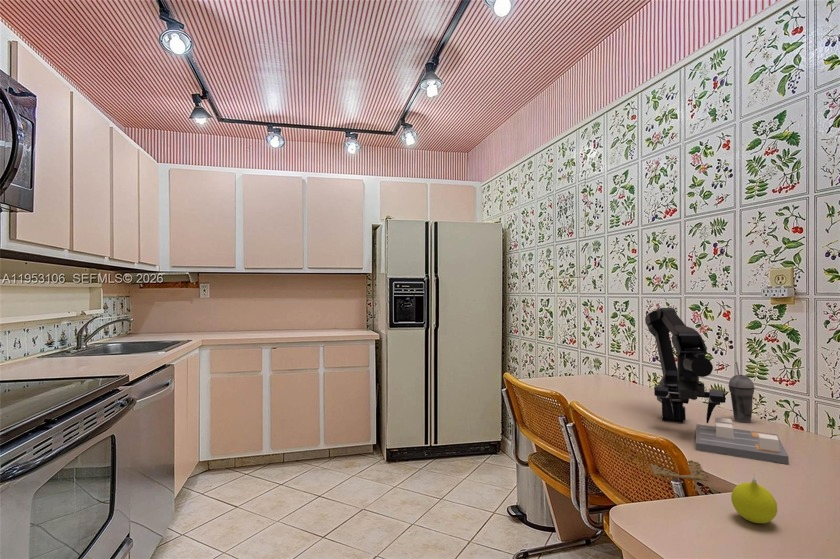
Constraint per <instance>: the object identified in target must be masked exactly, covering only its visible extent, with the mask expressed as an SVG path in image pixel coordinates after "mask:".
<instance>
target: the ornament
mask: <svg viewBox="0 0 840 559" xmlns="http://www.w3.org/2000/svg"><path fill="white" fill-rule="evenodd" d="M753 475H754V476H755V473H754V474H753ZM730 498H731V504H732V506H733V508H734V509H735V511H736V512H737V514H738V515H739V516H741V517H742V518H744V519H745V521H746V520H747V521H749V522H751V523H754V524H768V523H769V522H771V521H773V520H774V519H775V518H776V516H777V514H778V504H777V501H776V498H775V497H774V496H773V494H772V492H770V491H769V490H768V489H767V488H766V487H764V486H762V485H760V484H758V483H757V478H756V477H752V478H751V482H741V483H739V484H737V485H736V486H735V487H734V488H733V490H732V492H731V497H730Z"/></svg>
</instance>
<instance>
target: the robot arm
mask: <svg viewBox="0 0 840 559" xmlns="http://www.w3.org/2000/svg"><path fill="white" fill-rule="evenodd" d="M644 318H645V319H644V321H645V326H647V329H648V331H649V333H650V334H651V335H652V336H653V337H654V338H655V344H656V348H657V349H656V350H657V352H658V358H659V362H660V366H661V371H662V372H661V373H662V376H661V379H660V381H659V384H656V385H655V387H654V388H653V391H654V392H653V393H654V396H656V400H657V401H658V402H659V403H660V404H661V415H662V416H661V421H662V422H671V423H678V424H679V423H680V424H684V423H685V421H686V417H687V416H686V415H687V414H686V406H684V404H687V405H688V404H689V401H690V400H692V401H696V400H698V398H705V399H708V401H707V402H708V403H707V408H706V410H707V411H706V424H709V423H710V419H711V416H712V413H713V411H714V409H715V408H716V406H721V404H725V403H726V392H725V391H724V390H722V389H714V388H709V390H708V391H706V390H705V388H706V387H705V383H700V377H701V378H706V377H708V376H710V375H711V374H712V373H713V369H714V366H713V363H712V362H711V361H710V359H709V358H707V357H706V355H707V354H708V351H707V350H708V347H707V345H706V343H705V341H704V339H703V337H702V335H701V334H700V332H699V331H697V330H696V329H695V328H693V327H690V326H687V325H686V324H685V322H683V320H682V319H681V318H680V316H679V315H678V314H677V312H676V310H675V308H674V307H673V308H672V307H660V308H658V309H656V310H653V311H651V312H648V313H647V314H646V315H645V317H644ZM670 333H671V337H670ZM673 348H674V350H675V354H676V358H675V354H674V350H673Z"/></svg>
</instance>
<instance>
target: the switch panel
mask: <svg viewBox="0 0 840 559" xmlns="http://www.w3.org/2000/svg"><path fill="white" fill-rule="evenodd" d="M695 428H696V429H695V450H696V451H699V450H700V451H701V452H705V451H706V452H705V453H712V454H720V455H725V456H733V457H739V458H745V459H752V460H758V461H765V462H770V463H771V462H772V463H778V464H782V465H783V464H784V465H790V461H789V460H790V458H789V455H788V453H787V451H786V449H785V447H784V445H783V443H782V441H781V439H780V437H779V435H778V434H777V433H768V432H761V431H754V430H746V429H739V428H738V429H736V428H733V439H731V438H723V437H716V425H715V426H713V425H709V424H708V425H707V424H699V423H696V425H695ZM758 433H759V434H767V435H775V436H777V437H778V439H779V452H778V451H771V450H764V449H760V447H759V445H758Z"/></svg>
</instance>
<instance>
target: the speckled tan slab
mask: <svg viewBox="0 0 840 559" xmlns="http://www.w3.org/2000/svg"><path fill="white" fill-rule="evenodd" d="M688 463H689V466H690V471H691V474H690V475H679V474H677V473H674V472H672V471H670V470H667V469H664V468H661V467H658V466H656V465H653V464H650V463H649V465H650V468H651V471H652V474H653V476H654V475H655V476H664V477H669V478H671V477H672V478H678V479H687V480H696V481H702V482H703V481H704V482H710V478H709V476H708V475H707V473H705V471H704V469H703V468H701V467H702V465H701V464H700V463H699V461H693V460H688ZM700 465H701V466H700Z"/></svg>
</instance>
